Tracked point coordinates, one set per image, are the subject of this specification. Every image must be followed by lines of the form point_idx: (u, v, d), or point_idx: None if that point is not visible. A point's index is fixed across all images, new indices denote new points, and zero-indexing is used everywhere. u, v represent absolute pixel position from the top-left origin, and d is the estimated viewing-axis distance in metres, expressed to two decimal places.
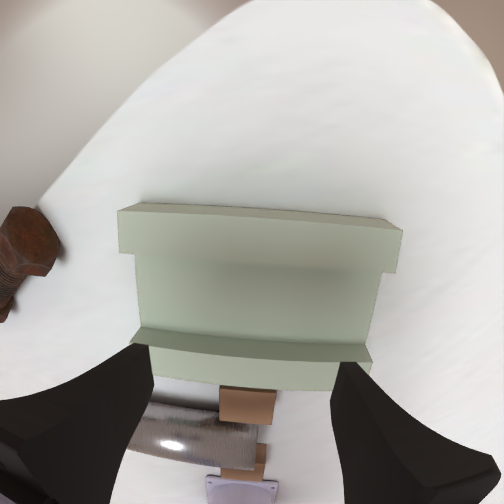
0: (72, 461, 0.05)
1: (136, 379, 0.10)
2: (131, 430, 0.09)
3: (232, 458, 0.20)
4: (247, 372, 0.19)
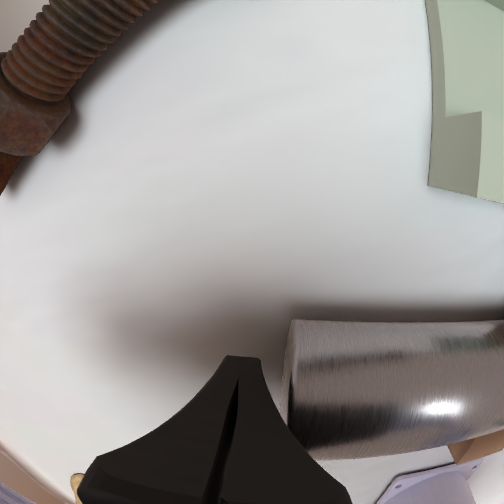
0: (214, 498, 0.05)
1: None
2: (231, 448, 0.09)
3: None
4: None
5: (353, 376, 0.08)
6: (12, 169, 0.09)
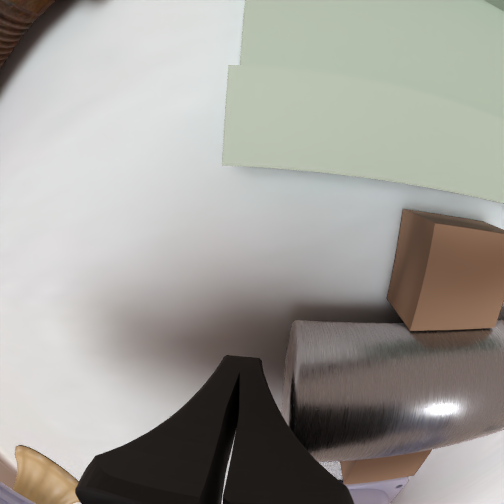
0: (212, 498, 0.05)
1: (237, 394, 0.09)
2: (230, 448, 0.09)
3: None
4: (503, 158, 0.06)
5: (355, 377, 0.08)
6: None
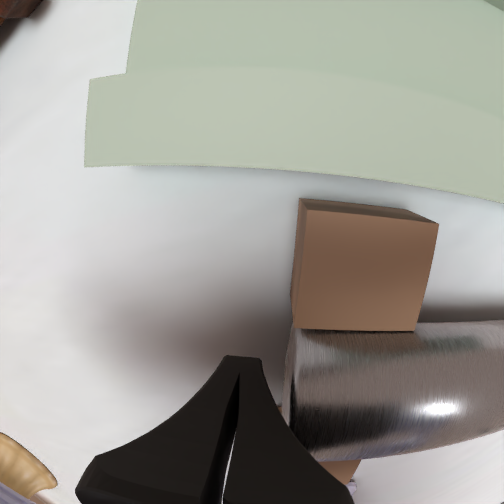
0: (212, 498, 0.05)
1: (238, 394, 0.09)
2: (230, 448, 0.09)
3: None
4: (393, 129, 0.07)
5: (355, 377, 0.08)
6: None
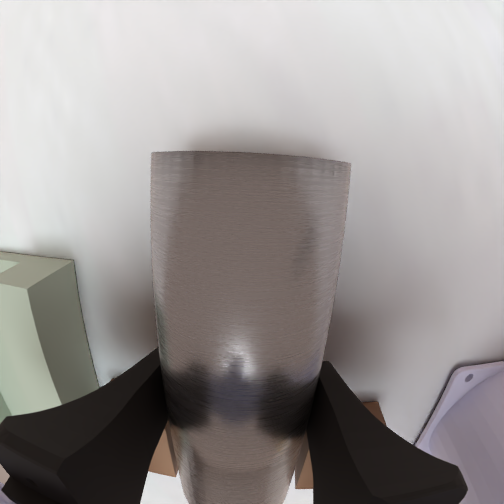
0: (107, 474, 0.05)
1: None
2: (158, 436, 0.09)
3: (201, 242, 0.06)
4: None
5: (190, 494, 0.10)
6: None
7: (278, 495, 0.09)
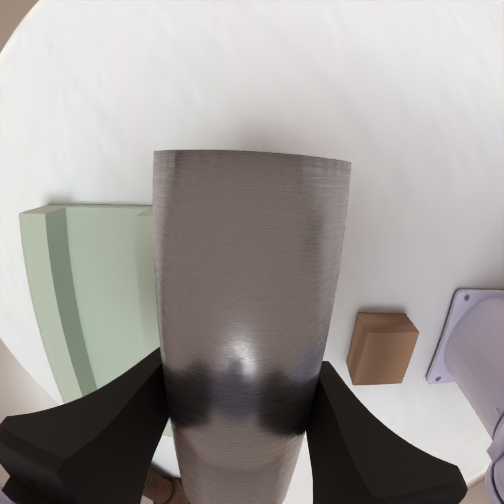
0: (107, 474, 0.05)
1: (163, 384, 0.10)
2: (158, 436, 0.09)
3: (207, 239, 0.06)
4: None
5: (192, 494, 0.10)
6: None
7: (280, 492, 0.10)
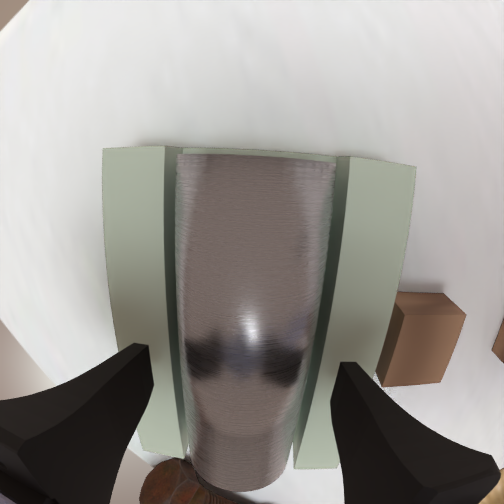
0: (72, 461, 0.05)
1: (136, 379, 0.10)
2: (131, 430, 0.09)
3: (222, 223, 0.08)
4: None
5: (200, 461, 0.11)
6: None
7: (280, 459, 0.11)
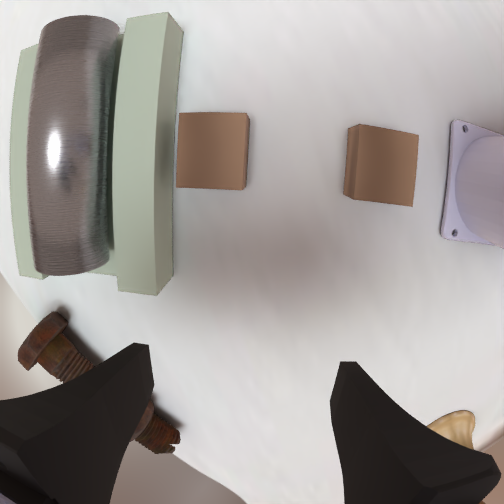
0: (72, 461, 0.05)
1: (136, 379, 0.10)
2: (131, 430, 0.09)
3: (42, 50, 0.11)
4: (131, 151, 0.15)
5: None
6: (163, 422, 0.23)
7: (78, 236, 0.14)
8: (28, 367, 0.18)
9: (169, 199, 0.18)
